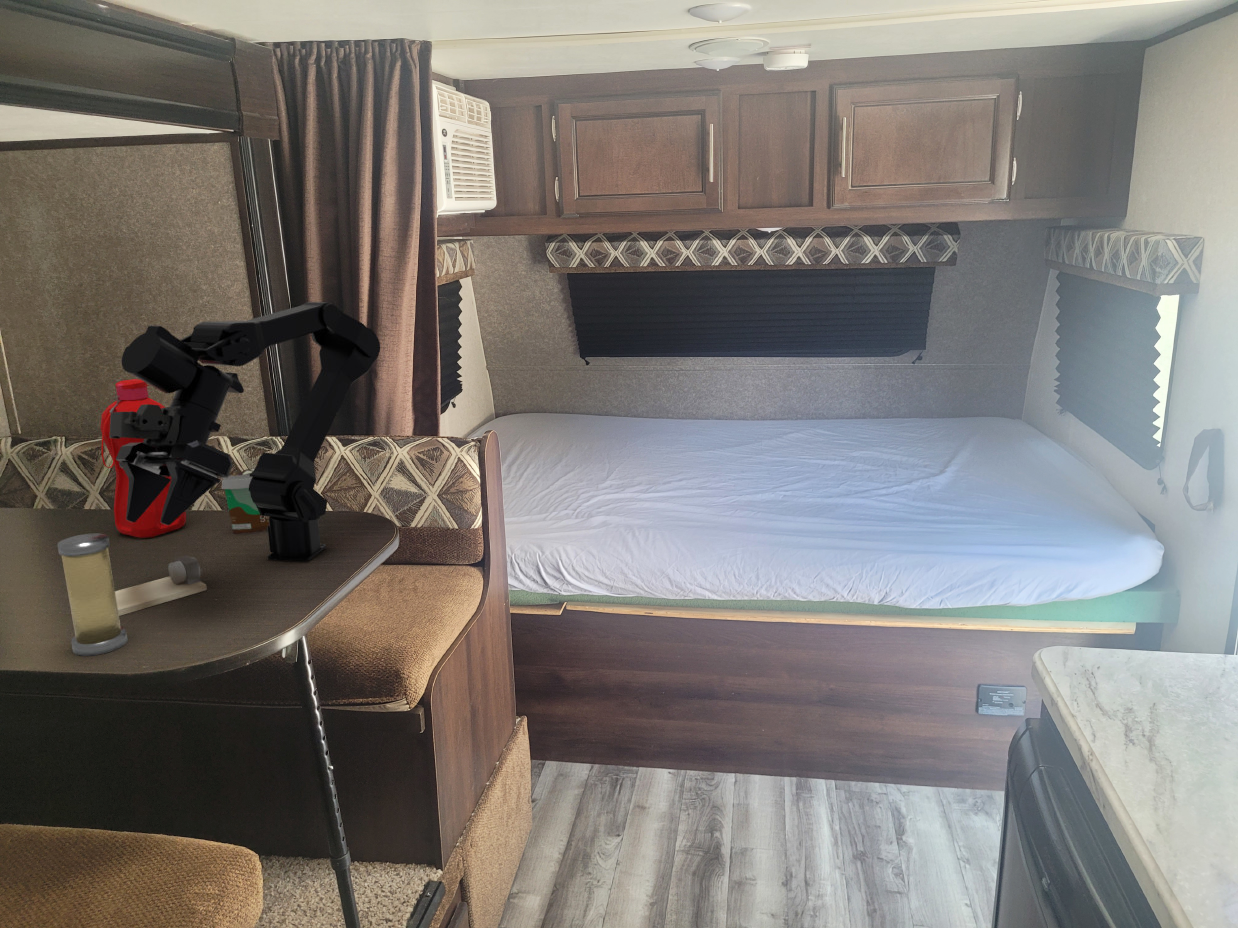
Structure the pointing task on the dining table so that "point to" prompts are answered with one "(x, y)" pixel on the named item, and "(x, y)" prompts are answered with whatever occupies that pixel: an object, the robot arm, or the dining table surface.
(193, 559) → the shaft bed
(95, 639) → the metal capped yellow cylinder
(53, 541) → the dining table surface
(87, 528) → the dining table surface
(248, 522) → the food container
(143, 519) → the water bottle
